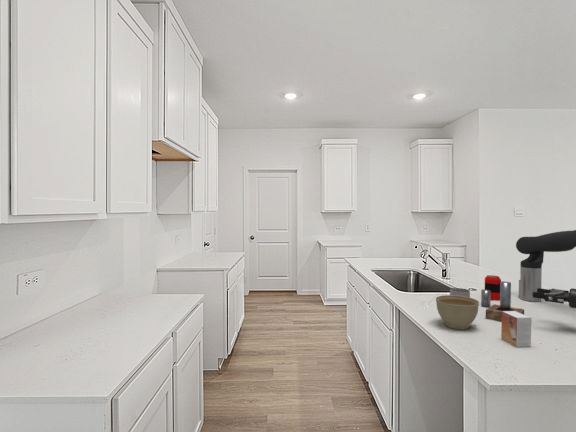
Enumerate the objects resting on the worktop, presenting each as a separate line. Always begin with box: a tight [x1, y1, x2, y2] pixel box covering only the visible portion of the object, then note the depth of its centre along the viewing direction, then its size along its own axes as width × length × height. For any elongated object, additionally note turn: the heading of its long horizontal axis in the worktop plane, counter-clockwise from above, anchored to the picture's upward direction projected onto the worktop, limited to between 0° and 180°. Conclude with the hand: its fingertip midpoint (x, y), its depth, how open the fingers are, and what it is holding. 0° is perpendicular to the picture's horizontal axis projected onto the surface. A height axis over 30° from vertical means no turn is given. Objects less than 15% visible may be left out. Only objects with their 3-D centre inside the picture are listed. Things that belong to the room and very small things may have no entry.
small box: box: [500, 311, 532, 348], centre depth 129 cm, size 8×6×10 cm
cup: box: [449, 287, 471, 298], centre depth 168 cm, size 8×8×10 cm
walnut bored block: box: [485, 303, 525, 323], centre depth 156 cm, size 12×12×4 cm
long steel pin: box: [499, 280, 512, 311], centre depth 156 cm, size 4×4×16 cm
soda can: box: [484, 274, 502, 301], centre depth 190 cm, size 8×8×12 cm
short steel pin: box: [480, 288, 492, 309], centre depth 175 cm, size 4×4×8 cm
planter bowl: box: [435, 294, 480, 330], centre depth 147 cm, size 16×16×11 cm
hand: (535, 292), depth 148 cm, fingers open, 8 cm apart
